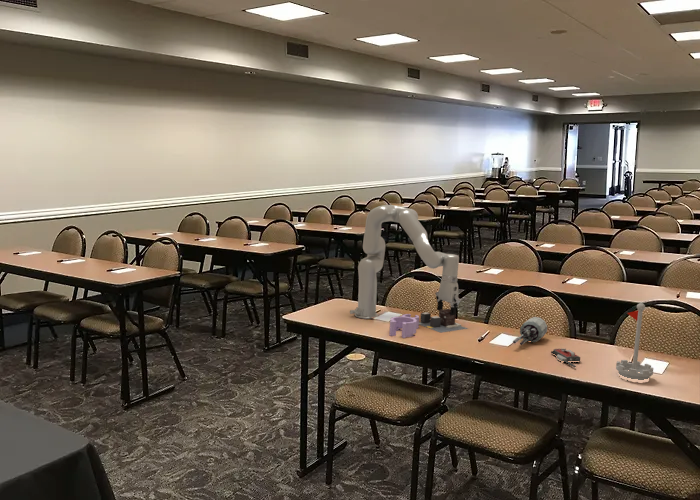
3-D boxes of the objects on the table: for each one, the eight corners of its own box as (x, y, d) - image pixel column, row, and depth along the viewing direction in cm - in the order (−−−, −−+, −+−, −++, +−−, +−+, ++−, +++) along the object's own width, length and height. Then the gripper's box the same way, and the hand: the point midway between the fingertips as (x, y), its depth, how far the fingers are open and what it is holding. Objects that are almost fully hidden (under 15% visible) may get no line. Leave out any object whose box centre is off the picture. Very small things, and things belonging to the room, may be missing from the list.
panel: (440, 335, 282) (440, 331, 282) (414, 325, 298) (414, 321, 298) (468, 330, 292) (468, 326, 291) (441, 321, 308) (441, 317, 308)
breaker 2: (434, 327, 290) (434, 318, 290) (430, 325, 293) (430, 316, 292) (440, 326, 293) (440, 317, 292) (436, 324, 295) (436, 315, 295)
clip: (401, 326, 296) (401, 312, 295) (424, 330, 291) (425, 316, 290) (384, 335, 279) (385, 320, 278) (409, 339, 273) (409, 325, 272)
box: (438, 323, 298) (438, 309, 297) (447, 322, 301) (448, 308, 300) (445, 326, 293) (446, 312, 292) (455, 325, 296) (456, 311, 295)
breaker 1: (424, 323, 298) (424, 314, 297) (420, 321, 300) (420, 312, 300) (430, 322, 300) (430, 313, 300) (426, 320, 303) (426, 312, 302)
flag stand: (658, 380, 230) (667, 305, 226) (640, 386, 222) (649, 308, 218) (626, 370, 240) (634, 298, 236) (608, 376, 233) (616, 301, 229)
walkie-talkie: (546, 355, 258) (572, 370, 239) (546, 345, 257) (573, 359, 238) (564, 354, 260) (591, 369, 241) (565, 344, 259) (593, 359, 240)
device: (526, 334, 289) (527, 314, 287) (547, 338, 284) (548, 318, 282) (507, 350, 263) (509, 328, 261) (530, 354, 258) (532, 332, 256)
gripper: (467, 282, 289) (463, 316, 291) (443, 275, 303) (440, 307, 306) (455, 282, 285) (452, 317, 287) (432, 275, 299) (429, 308, 302)
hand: (446, 312), depth 296 cm, fingers open, 9 cm apart
